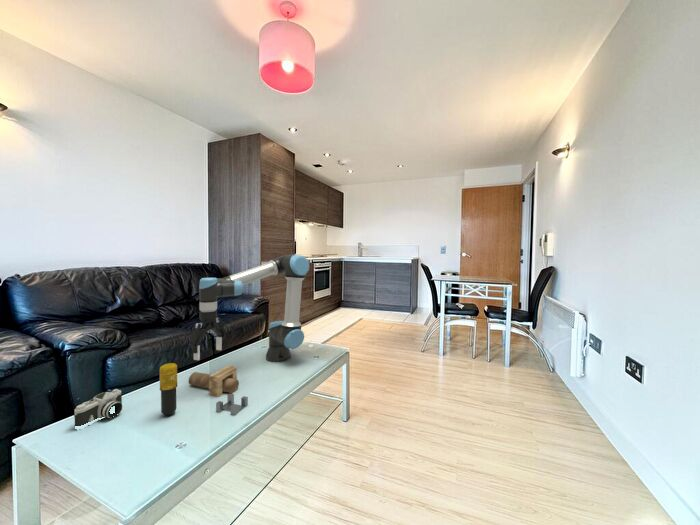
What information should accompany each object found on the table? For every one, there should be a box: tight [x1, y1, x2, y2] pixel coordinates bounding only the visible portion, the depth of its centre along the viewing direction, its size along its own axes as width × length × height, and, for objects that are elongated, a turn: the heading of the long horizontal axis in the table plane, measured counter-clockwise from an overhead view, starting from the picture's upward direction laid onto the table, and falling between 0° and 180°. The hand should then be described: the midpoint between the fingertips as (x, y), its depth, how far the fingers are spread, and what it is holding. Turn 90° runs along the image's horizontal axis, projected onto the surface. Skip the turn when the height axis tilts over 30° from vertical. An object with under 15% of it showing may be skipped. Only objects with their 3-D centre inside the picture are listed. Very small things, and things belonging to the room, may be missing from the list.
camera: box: [73, 388, 123, 427], centre depth 107 cm, size 16×9×10 cm, turn 167°
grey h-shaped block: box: [215, 393, 249, 416], centre depth 115 cm, size 8×9×4 cm
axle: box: [188, 371, 240, 394], centre depth 133 cm, size 24×6×6 cm, turn 73°
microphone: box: [159, 362, 178, 418], centre depth 111 cm, size 6×13×20 cm, turn 84°
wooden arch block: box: [208, 365, 238, 398], centre depth 131 cm, size 5×12×9 cm, turn 163°
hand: (208, 354), depth 133 cm, fingers open, 13 cm apart
